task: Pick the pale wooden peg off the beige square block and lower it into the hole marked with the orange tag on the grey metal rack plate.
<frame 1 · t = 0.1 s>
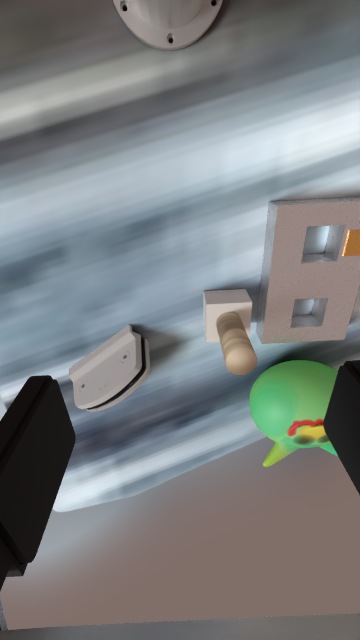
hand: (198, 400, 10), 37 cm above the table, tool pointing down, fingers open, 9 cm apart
rack plate: (304, 271, 46), on the table
toy bird: (286, 378, 58), on the table
beige square block: (223, 308, 49), on the table
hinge: (113, 359, 55), on the table
peg: (228, 323, 45), point 5 cm above the table, touching beige square block
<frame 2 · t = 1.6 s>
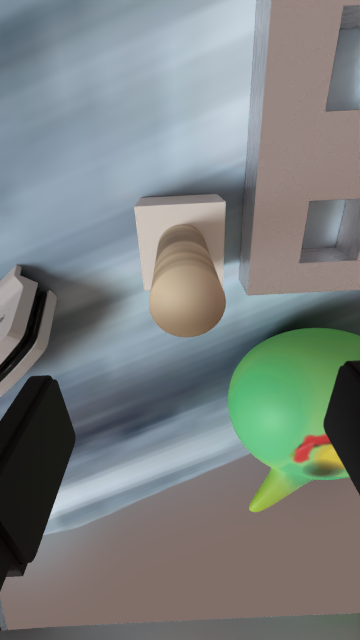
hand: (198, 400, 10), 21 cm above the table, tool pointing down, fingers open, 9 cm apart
rack plate: (326, 156, 25), on the table
toy bird: (289, 362, 37), on the table
beige square block: (180, 234, 28), on the table
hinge: (5, 329, 33), on the table
peg: (181, 249, 24), point 5 cm above the table, touching beige square block
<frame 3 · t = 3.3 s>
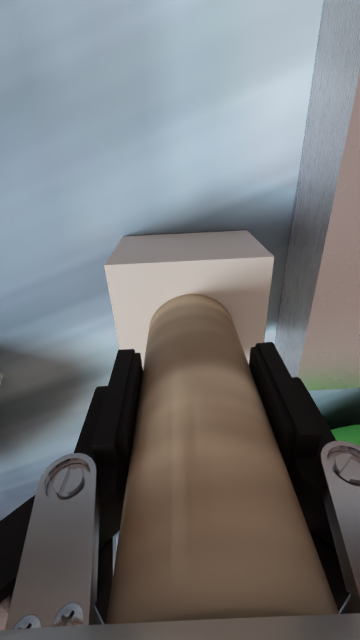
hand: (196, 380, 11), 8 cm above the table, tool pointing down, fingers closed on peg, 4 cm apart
toy bird: (336, 451, 26), on the table
beige square block: (187, 290, 18), on the table
peg: (191, 333, 13), point 5 cm above the table, touching gripper, beige square block
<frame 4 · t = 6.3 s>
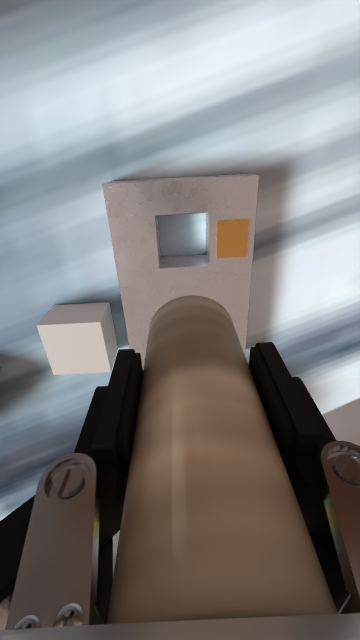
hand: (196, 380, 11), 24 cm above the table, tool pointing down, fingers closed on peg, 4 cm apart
rack plate: (184, 279, 34), on the table
beige square block: (87, 327, 37), on the table
peg: (191, 333, 13), point 21 cm above the table, touching gripper
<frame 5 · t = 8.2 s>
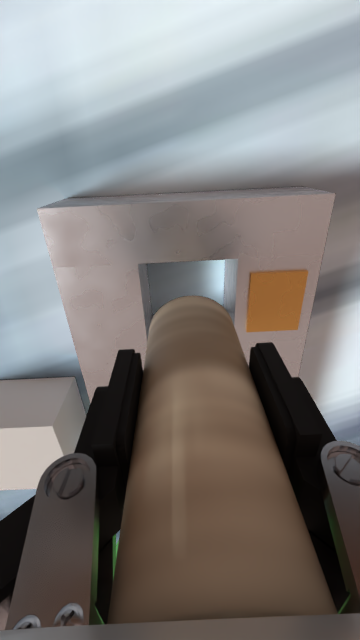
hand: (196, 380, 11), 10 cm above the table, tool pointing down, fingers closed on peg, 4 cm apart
rack plate: (188, 346, 22), on the table
beige square block: (44, 409, 25), on the table
peg: (191, 334, 13), point 7 cm above the table, touching gripper
when the fingers open (6 cm above the table, at t = 9.6 s): peg drops 3 cm, resting in rack plate.
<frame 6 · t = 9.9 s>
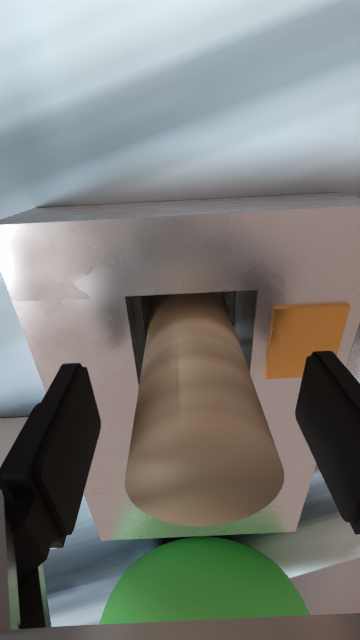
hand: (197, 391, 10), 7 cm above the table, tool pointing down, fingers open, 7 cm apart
rack plate: (191, 381, 19), on the table
toy bird: (199, 546, 30), on the table
beige square block: (22, 450, 22), on the table
peg: (187, 306, 16), resting in rack plate
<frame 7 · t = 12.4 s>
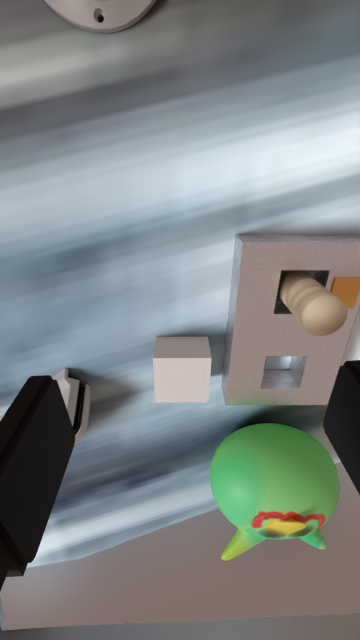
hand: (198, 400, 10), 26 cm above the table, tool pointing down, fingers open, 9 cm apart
rack plate: (280, 320, 38), on the table
toy bird: (258, 440, 48), on the table
beige square block: (181, 358, 40), on the table
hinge: (50, 407, 45), on the table
peg: (287, 280, 35), resting in rack plate
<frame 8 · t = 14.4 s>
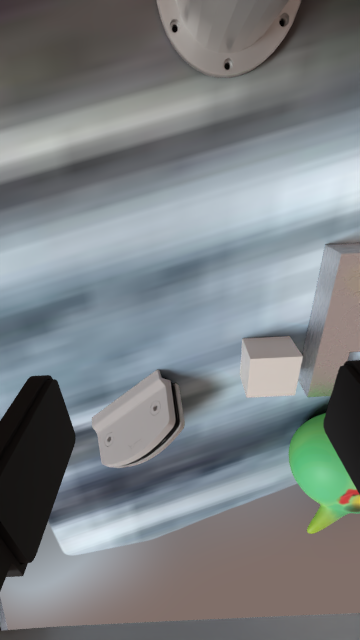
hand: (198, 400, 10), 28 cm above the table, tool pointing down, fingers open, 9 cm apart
rack plate: (358, 318, 41), on the table
toy bird: (325, 426, 53), on the table
beige square block: (263, 356, 44), on the table
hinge: (139, 405, 49), on the table
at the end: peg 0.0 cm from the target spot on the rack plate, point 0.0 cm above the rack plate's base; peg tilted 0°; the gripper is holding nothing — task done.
